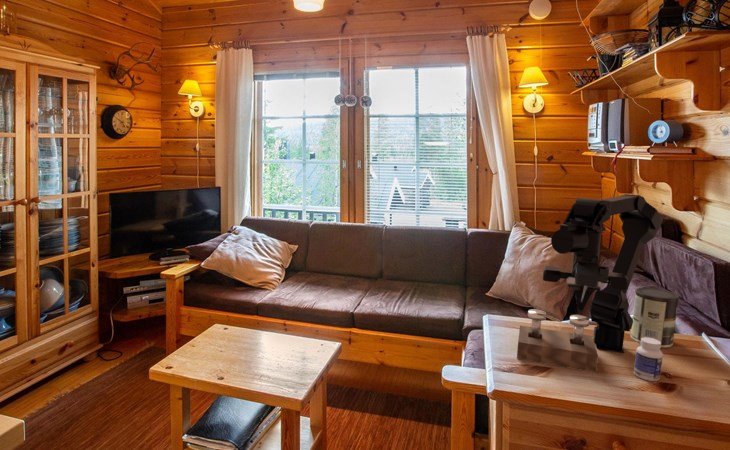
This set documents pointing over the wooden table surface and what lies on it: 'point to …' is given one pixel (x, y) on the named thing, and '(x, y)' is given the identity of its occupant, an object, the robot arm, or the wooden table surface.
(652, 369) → the pill bottle
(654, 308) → the coffee can
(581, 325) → the near plunger
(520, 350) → the block
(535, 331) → the far plunger
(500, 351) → the wooden table surface
